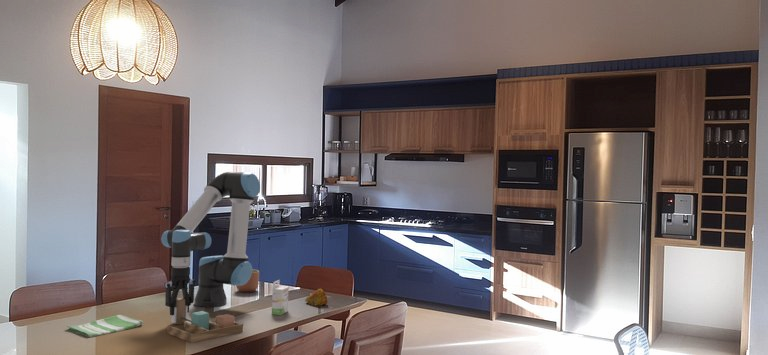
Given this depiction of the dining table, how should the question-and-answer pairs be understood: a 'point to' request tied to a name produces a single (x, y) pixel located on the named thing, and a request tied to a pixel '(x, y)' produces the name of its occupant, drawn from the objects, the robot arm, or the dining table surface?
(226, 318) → the terracotta block
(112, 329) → the dish towel
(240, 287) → the planter
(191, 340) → the oak lanes
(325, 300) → the rock
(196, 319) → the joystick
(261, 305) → the dining table surface
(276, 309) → the ink box
